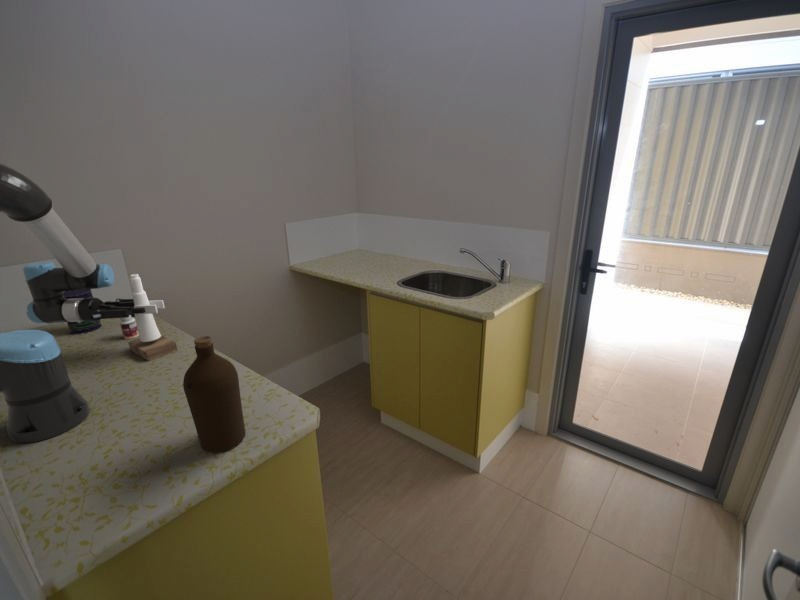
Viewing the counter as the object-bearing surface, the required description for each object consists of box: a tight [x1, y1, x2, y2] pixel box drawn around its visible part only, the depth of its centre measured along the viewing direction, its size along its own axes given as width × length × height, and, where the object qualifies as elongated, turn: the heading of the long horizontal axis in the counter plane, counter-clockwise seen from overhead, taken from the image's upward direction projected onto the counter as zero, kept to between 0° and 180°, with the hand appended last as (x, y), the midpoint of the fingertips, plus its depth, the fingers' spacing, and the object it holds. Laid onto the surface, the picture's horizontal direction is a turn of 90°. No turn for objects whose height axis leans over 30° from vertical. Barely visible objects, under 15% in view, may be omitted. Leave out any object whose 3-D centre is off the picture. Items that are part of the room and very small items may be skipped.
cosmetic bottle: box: [129, 273, 162, 342], centre depth 127 cm, size 6×6×22 cm
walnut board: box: [127, 334, 178, 362], centre depth 132 cm, size 14×9×3 cm, turn 54°
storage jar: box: [63, 289, 103, 335], centre depth 149 cm, size 10×10×15 cm
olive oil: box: [182, 335, 246, 454], centre depth 85 cm, size 11×11×25 cm
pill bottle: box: [119, 315, 140, 340], centre depth 142 cm, size 5×5×8 cm
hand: (159, 306), depth 128 cm, fingers closed on cosmetic bottle, 4 cm apart
